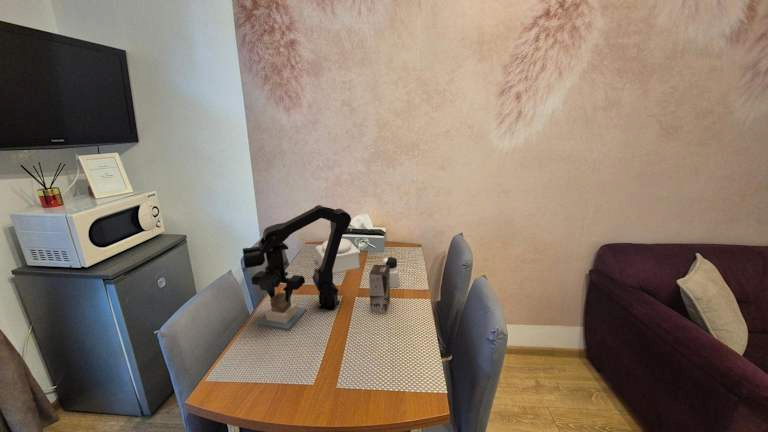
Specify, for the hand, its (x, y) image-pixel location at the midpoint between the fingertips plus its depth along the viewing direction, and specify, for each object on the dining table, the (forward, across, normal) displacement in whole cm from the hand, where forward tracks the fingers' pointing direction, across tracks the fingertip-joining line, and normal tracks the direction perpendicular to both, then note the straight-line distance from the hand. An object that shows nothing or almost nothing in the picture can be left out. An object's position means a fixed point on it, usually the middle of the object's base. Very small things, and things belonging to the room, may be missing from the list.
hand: (280, 300), depth 120 cm
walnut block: (+3, 0, 0) cm, 3 cm away
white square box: (+8, +2, +48) cm, 49 cm away
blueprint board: (+7, 0, 0) cm, 7 cm away
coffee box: (+8, +34, +16) cm, 38 cm away
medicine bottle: (+8, +32, +35) cm, 48 cm away
